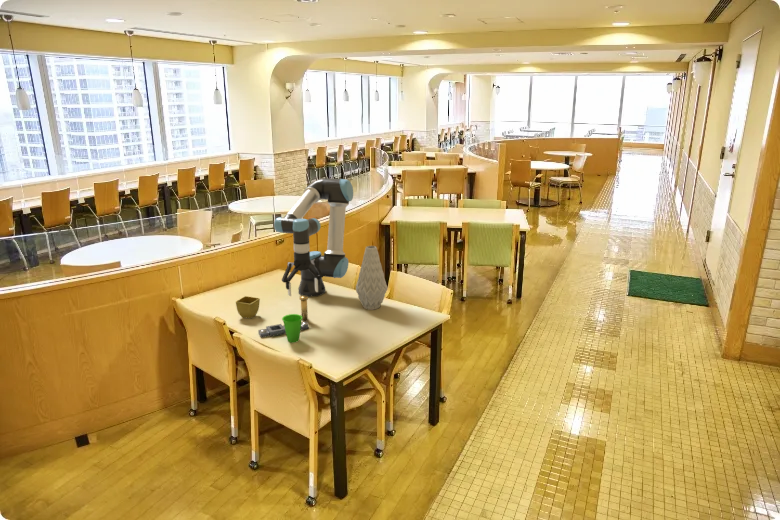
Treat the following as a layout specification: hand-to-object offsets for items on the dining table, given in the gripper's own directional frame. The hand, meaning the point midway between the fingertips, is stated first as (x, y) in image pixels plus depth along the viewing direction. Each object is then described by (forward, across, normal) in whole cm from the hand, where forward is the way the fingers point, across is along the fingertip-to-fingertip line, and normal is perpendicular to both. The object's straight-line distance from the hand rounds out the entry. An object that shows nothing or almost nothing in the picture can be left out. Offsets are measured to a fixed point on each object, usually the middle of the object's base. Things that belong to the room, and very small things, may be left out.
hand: (303, 293), depth 260 cm
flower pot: (+14, +24, -16) cm, 32 cm away
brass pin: (+14, 0, 0) cm, 14 cm away
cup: (+14, +12, +20) cm, 27 cm away
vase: (+14, -37, -1) cm, 40 cm away
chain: (+14, +13, +9) cm, 21 cm away
